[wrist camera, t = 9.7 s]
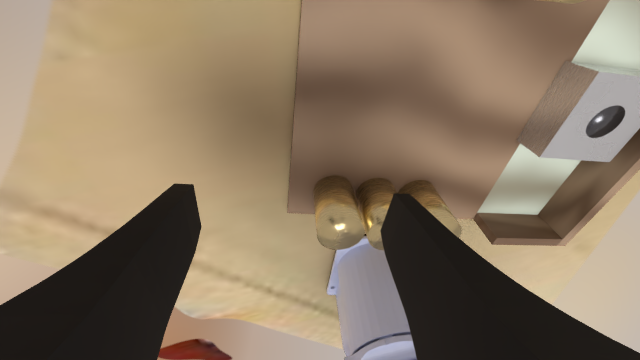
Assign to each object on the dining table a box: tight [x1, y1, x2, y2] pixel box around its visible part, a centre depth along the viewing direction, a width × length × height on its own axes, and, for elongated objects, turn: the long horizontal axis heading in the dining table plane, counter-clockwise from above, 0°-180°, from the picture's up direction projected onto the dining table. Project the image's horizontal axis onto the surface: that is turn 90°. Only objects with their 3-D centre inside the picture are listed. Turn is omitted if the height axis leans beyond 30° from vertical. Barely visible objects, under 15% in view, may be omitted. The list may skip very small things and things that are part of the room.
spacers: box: [313, 0, 585, 250], centre depth 16 cm, size 19×10×4 cm, turn 173°
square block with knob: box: [517, 61, 640, 162], centre depth 18 cm, size 6×6×2 cm
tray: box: [287, 0, 640, 246], centre depth 18 cm, size 20×24×4 cm
